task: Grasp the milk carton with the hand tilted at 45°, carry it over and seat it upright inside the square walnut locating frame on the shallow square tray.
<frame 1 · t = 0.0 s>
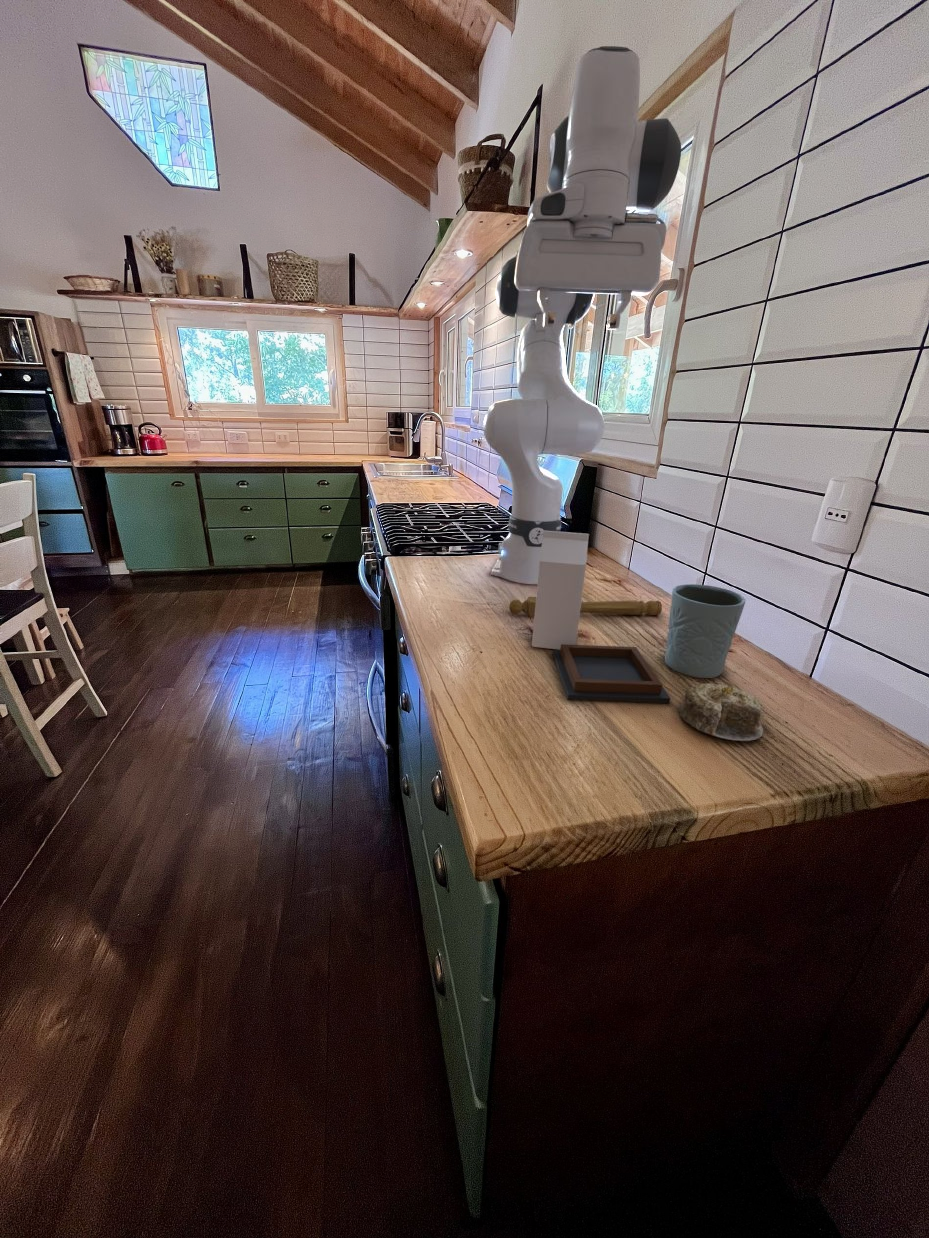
hand: (580, 328, 73), 48 cm above the worktop, tool pointing down, fingers open, 8 cm apart
shallow square tray: (605, 676, 75), on the worktop
blue plant pot: (691, 665, 79), on the worktop
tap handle: (584, 615, 98), on the worktop
cake: (718, 722, 65), on the worktop
milk carton: (553, 642, 86), on the worktop
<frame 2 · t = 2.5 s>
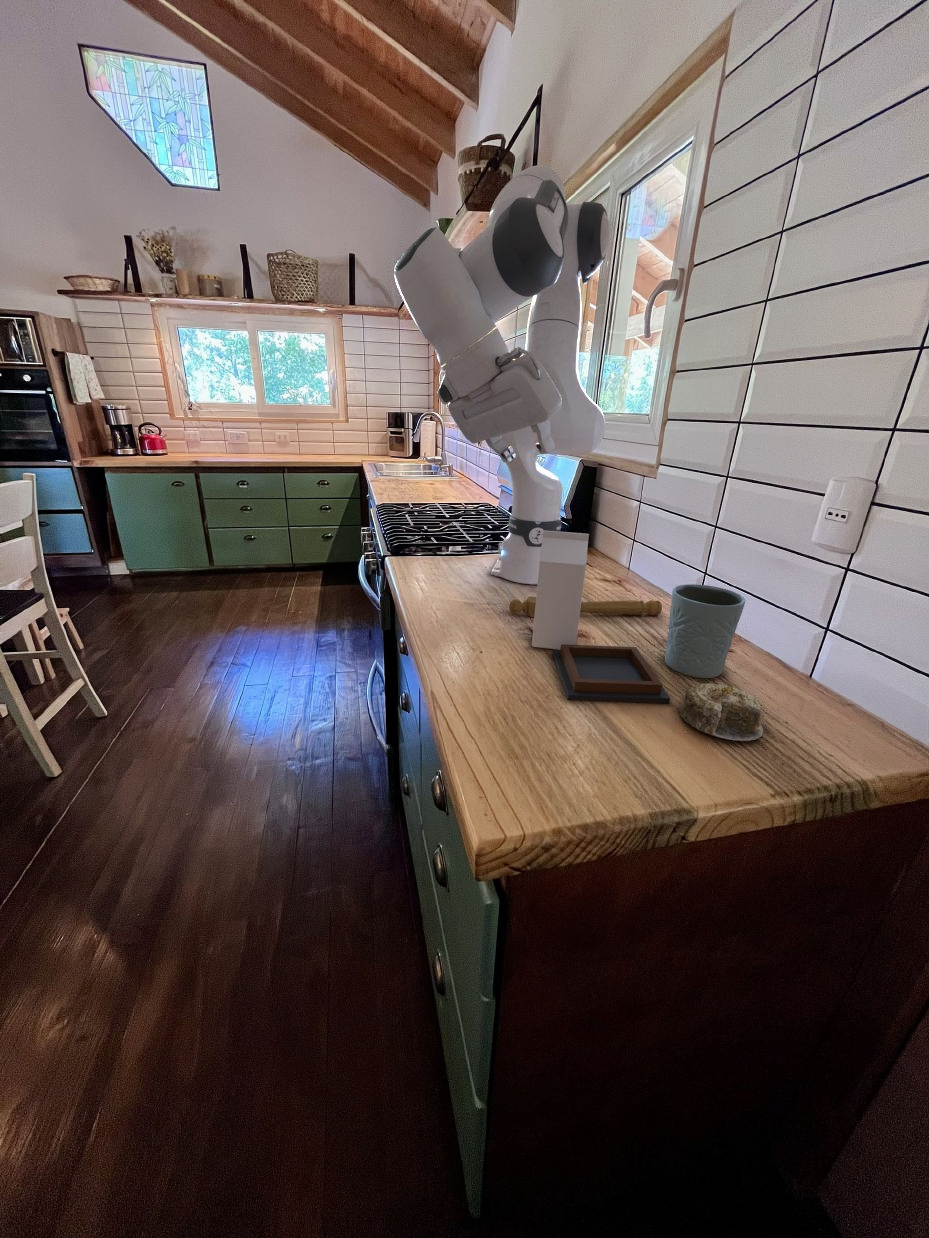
hand: (528, 456, 73), 30 cm above the worktop, tool tilted 35°, fingers open, 8 cm apart
nothing on the worktop moved.
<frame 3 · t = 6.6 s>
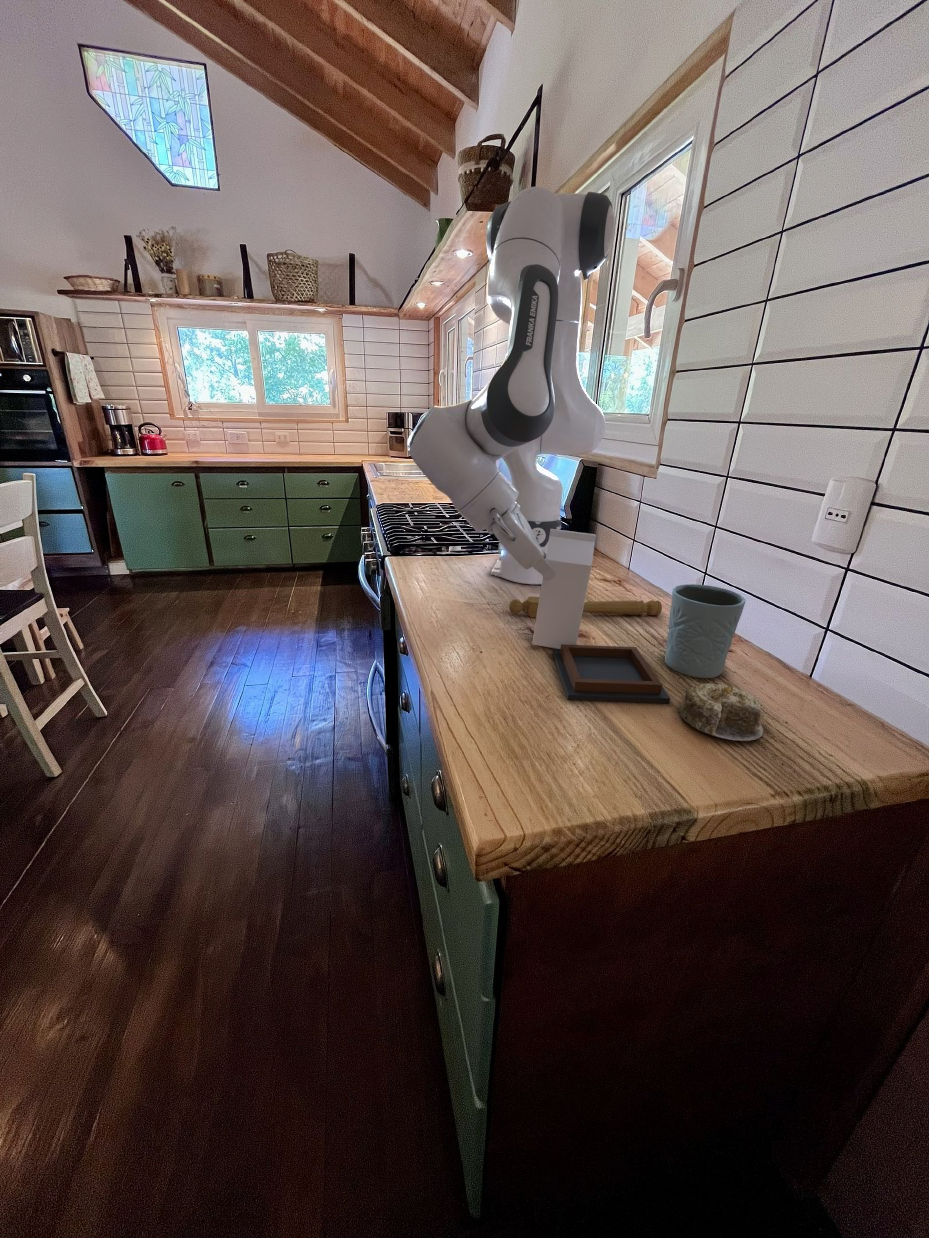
hand: (547, 567, 81), 13 cm above the worktop, tool tilted 45°, fingers open, 8 cm apart
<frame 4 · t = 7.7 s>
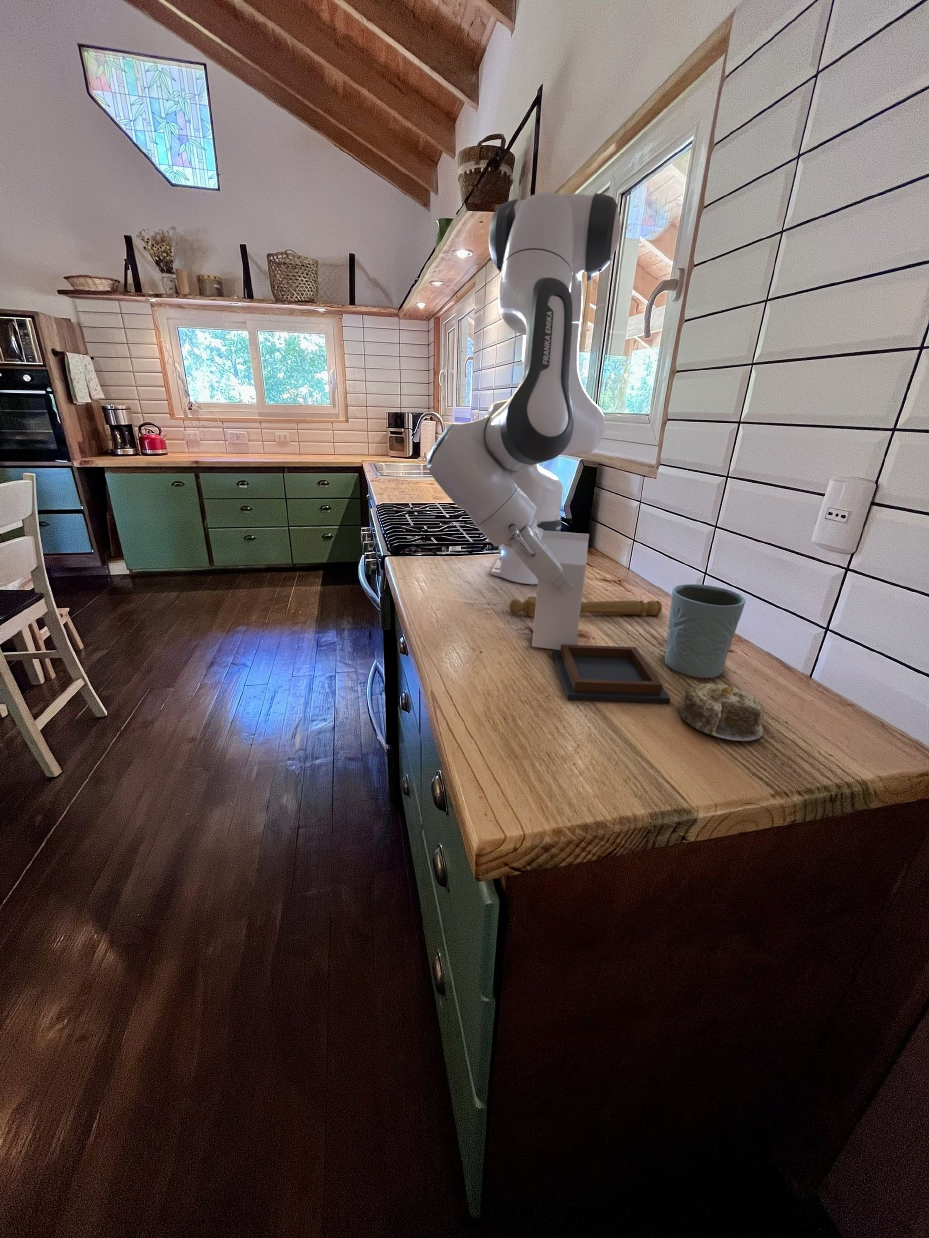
hand: (564, 581, 81), 11 cm above the worktop, tool tilted 45°, fingers closed on milk carton, 7 cm apart
milk carton: (553, 642, 86), on the worktop, touching gripper
everything else where it was.
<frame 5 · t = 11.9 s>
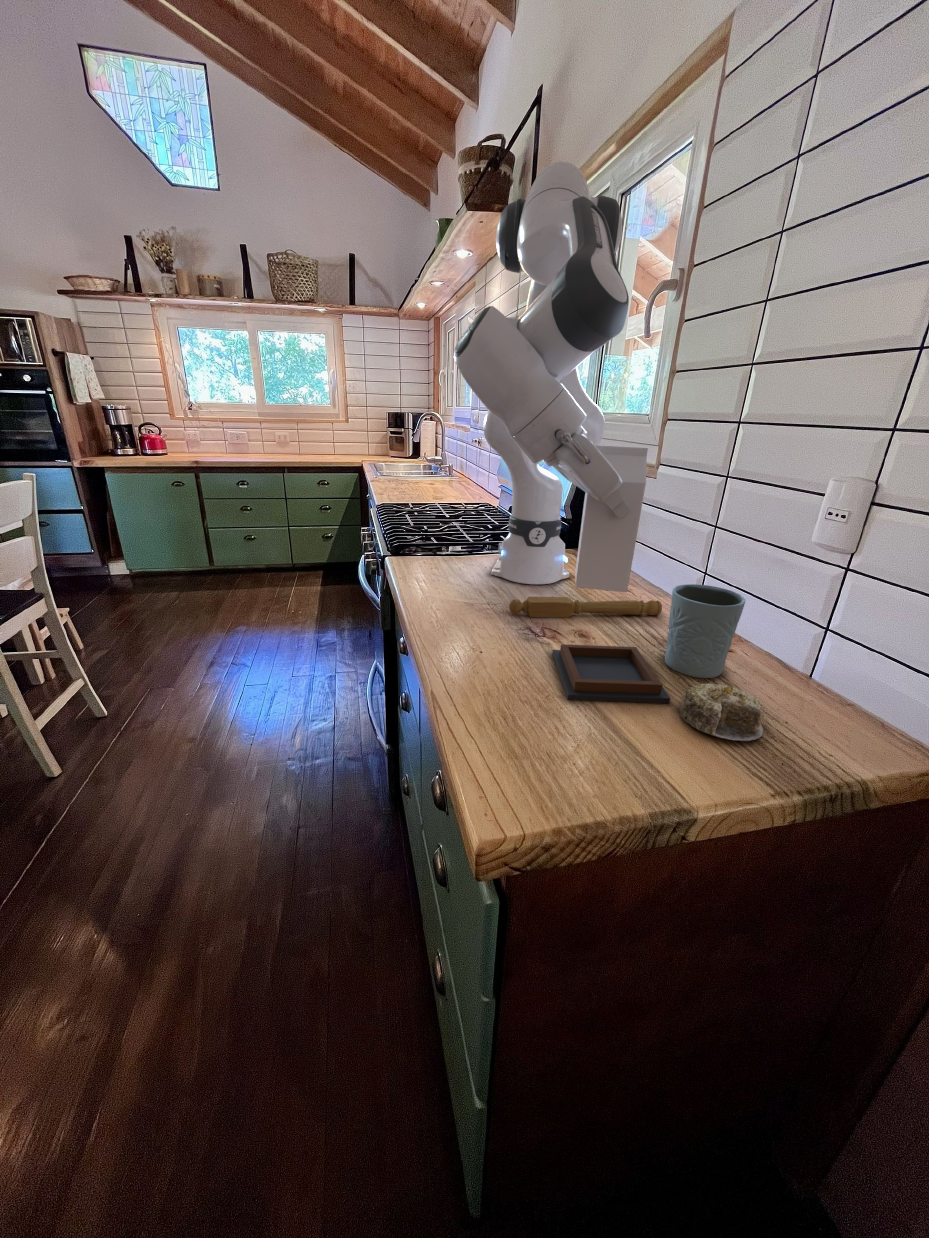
hand: (614, 508, 69), 24 cm above the worktop, tool tilted 45°, fingers closed on milk carton, 7 cm apart
milk carton: (599, 584, 73), point 13 cm above the worktop, touching gripper
everything else where it was.
when the fingers open (12 cm above the worktop, at t = 16.4 s): milk carton stays where it is, resting on shallow square tray.
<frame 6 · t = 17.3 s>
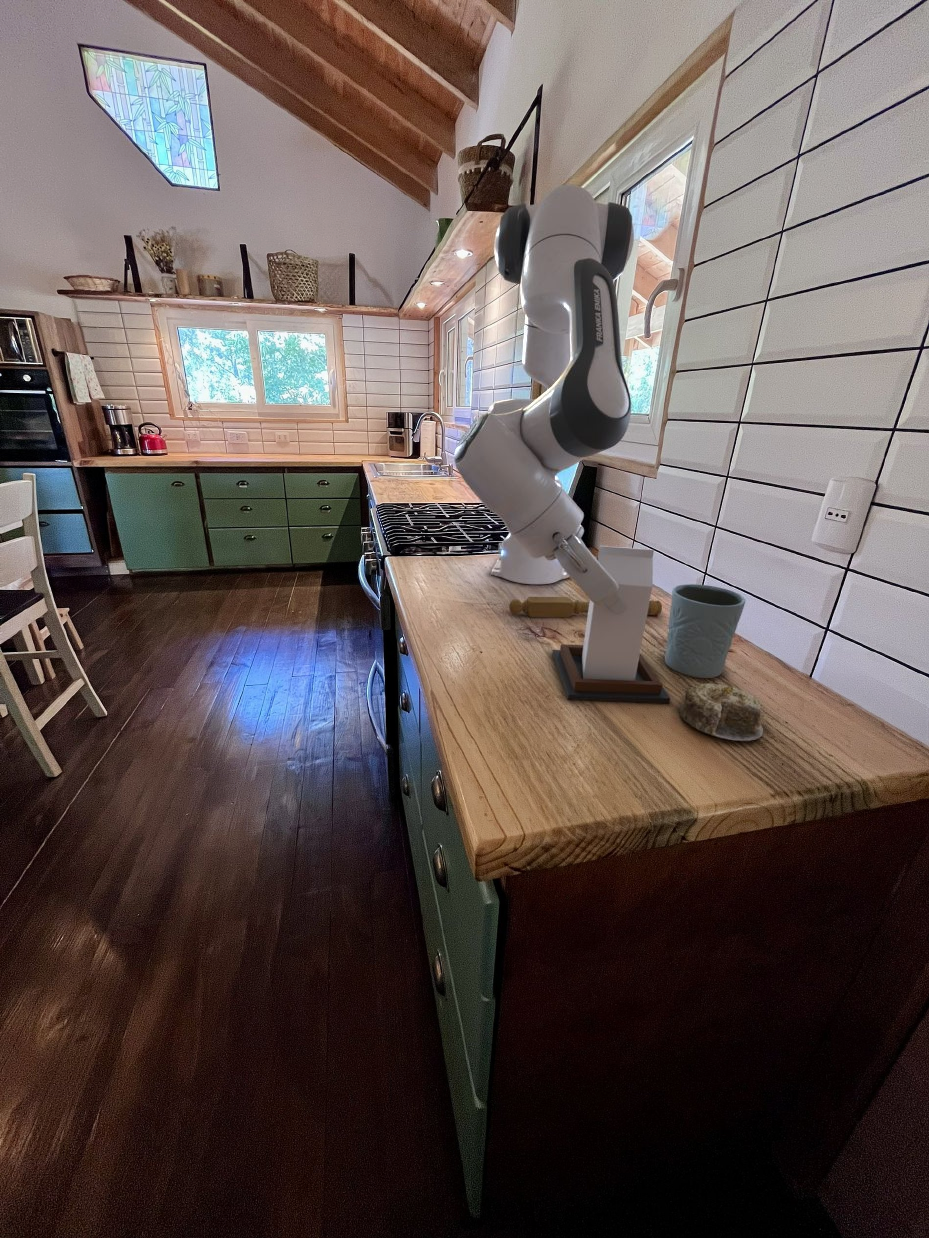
hand: (612, 597, 70), 13 cm above the worktop, tool tilted 45°, fingers open, 8 cm apart
milk carton: (606, 672, 74), point 1 cm above the worktop, touching shallow square tray, gripper
everything else where it was.
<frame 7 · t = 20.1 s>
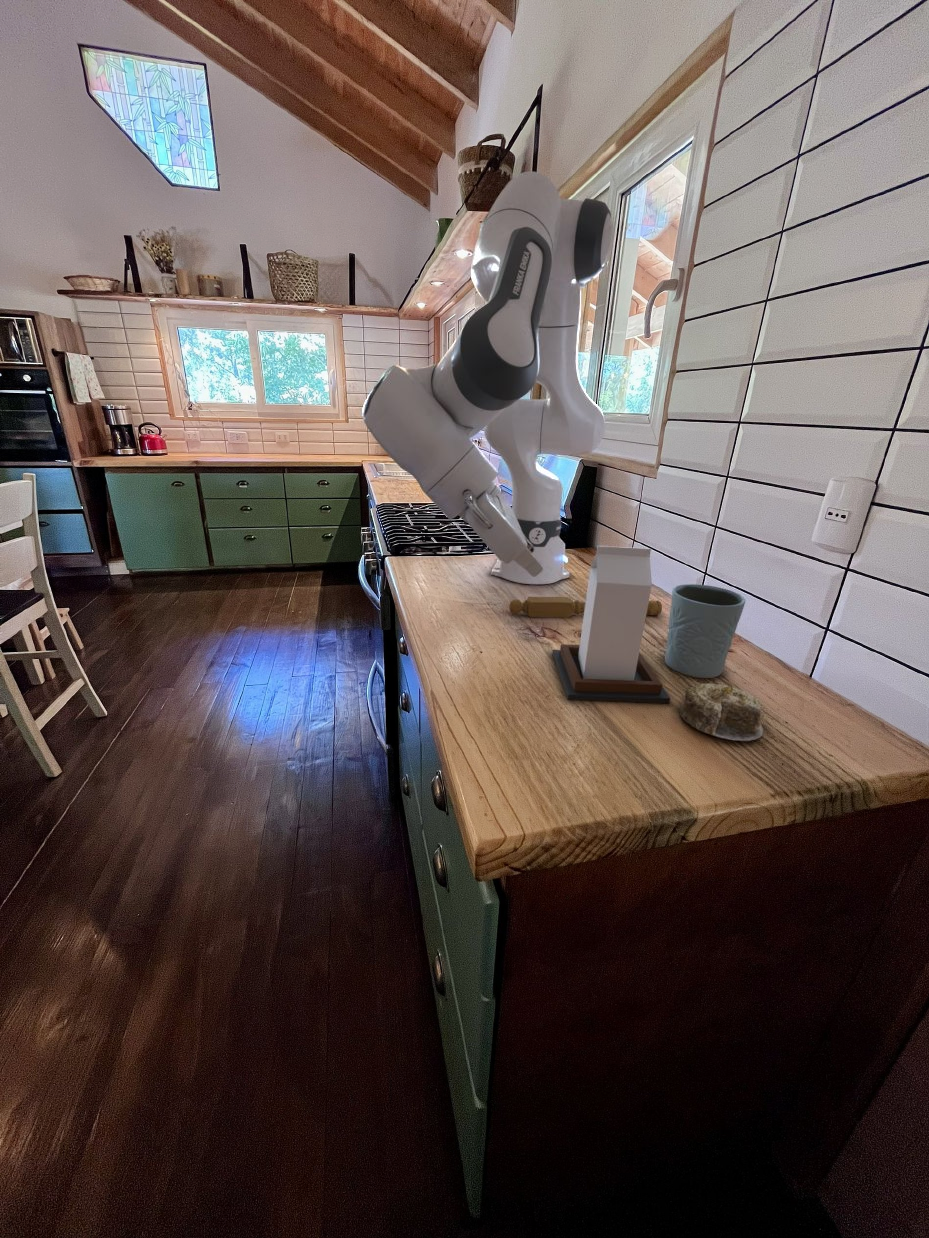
hand: (534, 561, 68), 17 cm above the worktop, tool tilted 45°, fingers open, 8 cm apart
milk carton: (604, 672, 75), point 1 cm above the worktop, touching shallow square tray
everything else where it was.
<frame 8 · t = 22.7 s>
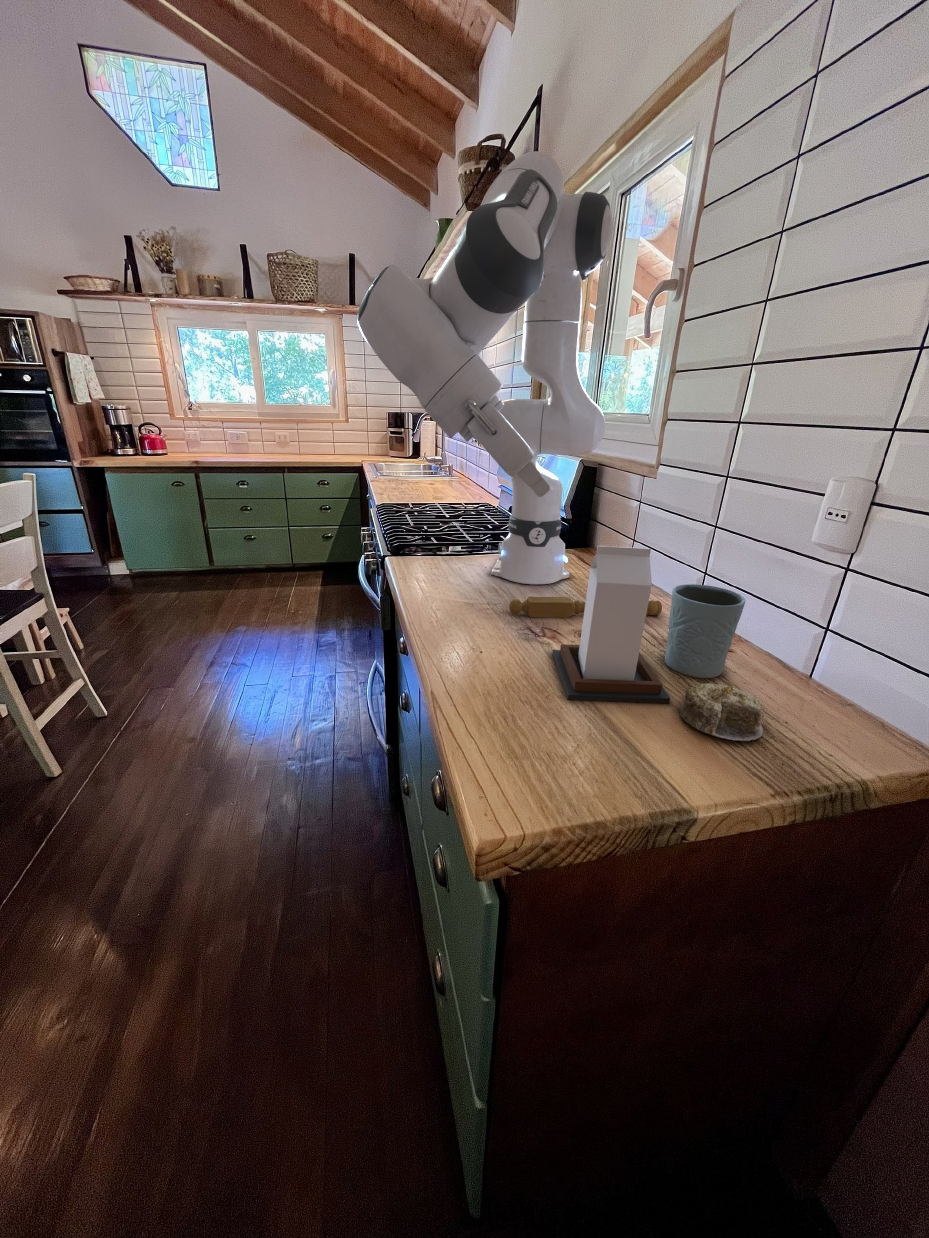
hand: (540, 487, 64), 27 cm above the worktop, tool tilted 45°, fingers open, 8 cm apart
nothing on the worktop moved.
at the end: milk carton 0.4 cm off-centre on the shallow square tray, point 0.6 cm above the shallow square tray's base; milk carton tilted 0°; the gripper is holding nothing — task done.
